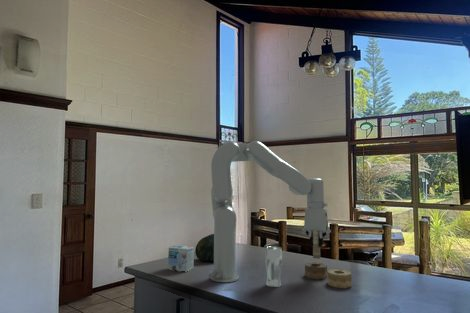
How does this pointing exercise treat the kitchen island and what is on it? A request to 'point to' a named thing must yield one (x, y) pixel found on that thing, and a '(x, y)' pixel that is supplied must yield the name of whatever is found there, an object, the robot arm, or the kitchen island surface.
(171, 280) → the kitchen island surface
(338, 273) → the oak bead
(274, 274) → the beer glass
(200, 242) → the squash
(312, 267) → the walnut bead
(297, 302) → the kitchen island surface
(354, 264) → the kitchen island surface
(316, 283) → the kitchen island surface
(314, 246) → the cream and red cylinder
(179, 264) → the light bulb box
